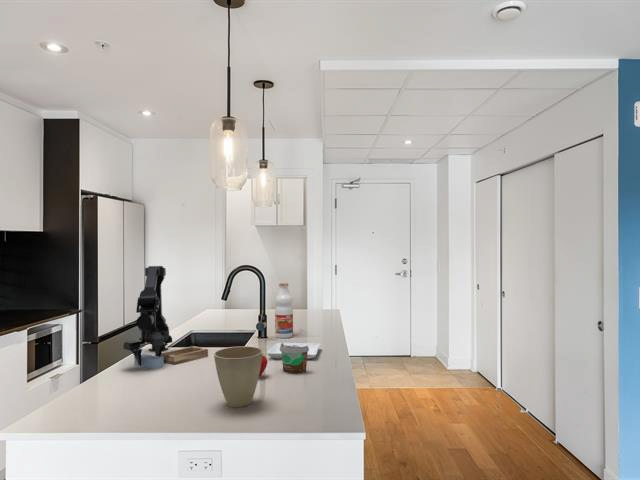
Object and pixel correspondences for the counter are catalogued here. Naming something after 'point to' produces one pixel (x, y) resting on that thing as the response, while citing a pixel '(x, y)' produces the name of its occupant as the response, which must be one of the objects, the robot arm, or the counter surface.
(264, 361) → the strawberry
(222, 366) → the plant pot
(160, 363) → the fuselage block
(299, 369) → the food container
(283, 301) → the fruit juice
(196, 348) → the wooden tray
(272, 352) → the salad plate
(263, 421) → the counter surface
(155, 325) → the robot arm
